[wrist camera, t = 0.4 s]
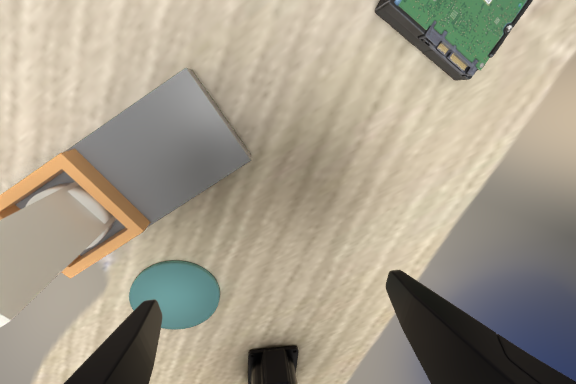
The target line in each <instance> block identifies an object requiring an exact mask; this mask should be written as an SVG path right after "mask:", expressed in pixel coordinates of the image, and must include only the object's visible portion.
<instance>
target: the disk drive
mask: <svg viewBox="0 0 576 384" xmlns="http://www.w3.org/2000/svg"><path fill="white" fill-rule="evenodd" d="M532 1H533V0H380V1H379V3H378V5H377V7H376V9H375V13H376V14H377V15H378V16H380V17H381V18H382V19H383V20H385V21H386V22H388V23H389V24H390V25H391V26H392V27H393V28H394V29H395V30H396V31H397V32H399V33H400V34H401V35H402V36H403V37H404V38H406V39H407V40H408V41H409V42H410V43H411V44H413V45H414V46H416V47H417V48H418V49H419V50H420V51H422V53H423V54H424V55H426V56H427V57H428V58H429V59H430V60H432V61H433V62H434V63H435V64H436V65H437V66H439V67H440V68H441V69H442V70H444V71H445V72H446V73H447V74H448V75H449V76H450V77H452V78H453V79H454V80H468V79H471V77H472V76H473V75H474V73H475V72H476V71H477V70H481V69H482V68H483V67H484V65H485V64H486V62H487V61H488V59H489V58H491V57H493V55H494V54H495V53H496V51H497V50H498V49H499V47H500V46H501V45H502V43H503V41H504V40H505V38H506V37H507V35H508V34H509V33H510V31H511V29H512V28H513V27H514V26H515V24H516V23H517V22H518V20H519V19H520V17H521V16H522V15H523V14H524V12H525V10H526V9H527V8H528V6H529V5H530V4H531V2H532Z"/></svg>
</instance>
